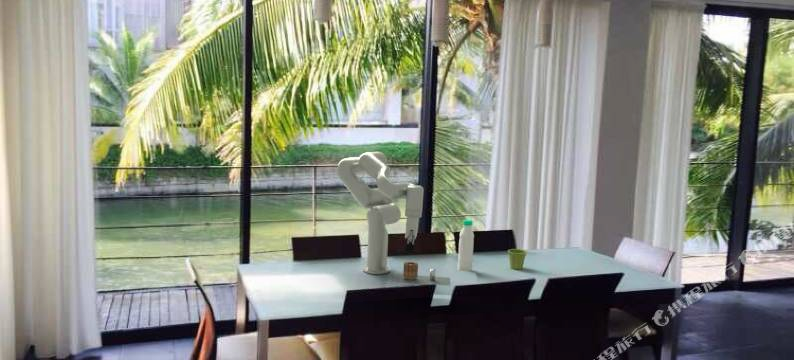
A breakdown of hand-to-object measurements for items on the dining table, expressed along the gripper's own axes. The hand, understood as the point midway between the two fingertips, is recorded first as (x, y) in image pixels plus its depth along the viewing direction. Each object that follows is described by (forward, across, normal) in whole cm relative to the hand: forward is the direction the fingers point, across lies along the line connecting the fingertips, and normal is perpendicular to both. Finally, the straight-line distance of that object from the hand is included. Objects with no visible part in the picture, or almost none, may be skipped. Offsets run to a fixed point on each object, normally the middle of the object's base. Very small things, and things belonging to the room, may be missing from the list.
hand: (410, 249), depth 300 cm
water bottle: (+15, -25, +26) cm, 39 cm away
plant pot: (+14, -36, +52) cm, 65 cm away
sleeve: (+12, +1, +1) cm, 12 cm away
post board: (+14, +1, +6) cm, 16 cm away
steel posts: (+13, +1, +5) cm, 14 cm away
